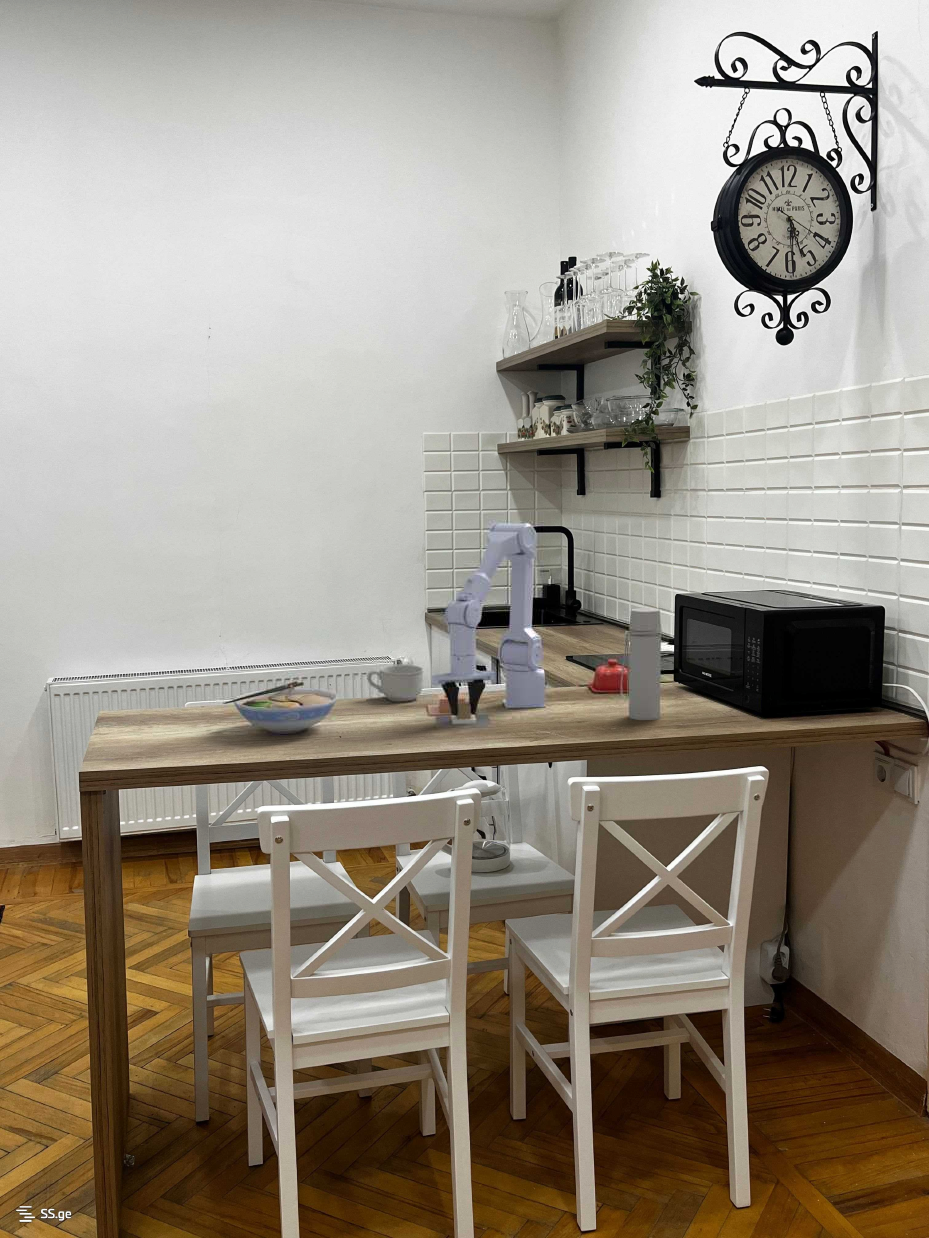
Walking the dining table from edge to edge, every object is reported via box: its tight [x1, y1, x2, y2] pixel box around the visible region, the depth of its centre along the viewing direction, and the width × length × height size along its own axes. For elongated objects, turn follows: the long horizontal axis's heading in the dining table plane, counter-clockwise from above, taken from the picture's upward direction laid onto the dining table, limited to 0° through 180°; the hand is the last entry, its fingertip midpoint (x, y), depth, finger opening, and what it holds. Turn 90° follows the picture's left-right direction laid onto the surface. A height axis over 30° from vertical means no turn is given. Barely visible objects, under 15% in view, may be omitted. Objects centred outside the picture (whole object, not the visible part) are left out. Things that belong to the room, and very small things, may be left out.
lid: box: [450, 702, 476, 724], centre depth 240 cm, size 5×5×4 cm
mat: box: [435, 714, 493, 729], centre depth 241 cm, size 12×12×1 cm
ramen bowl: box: [222, 681, 339, 735], centre depth 234 cm, size 25×23×8 cm
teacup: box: [366, 664, 424, 703], centre depth 268 cm, size 14×11×8 cm
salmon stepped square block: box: [426, 693, 478, 717], centre depth 253 cm, size 11×11×4 cm
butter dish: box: [587, 658, 627, 694], centre depth 276 cm, size 12×12×8 cm
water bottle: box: [620, 607, 663, 721], centre depth 241 cm, size 9×8×25 cm
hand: (463, 714), depth 240 cm, fingers closed on lid, 4 cm apart
